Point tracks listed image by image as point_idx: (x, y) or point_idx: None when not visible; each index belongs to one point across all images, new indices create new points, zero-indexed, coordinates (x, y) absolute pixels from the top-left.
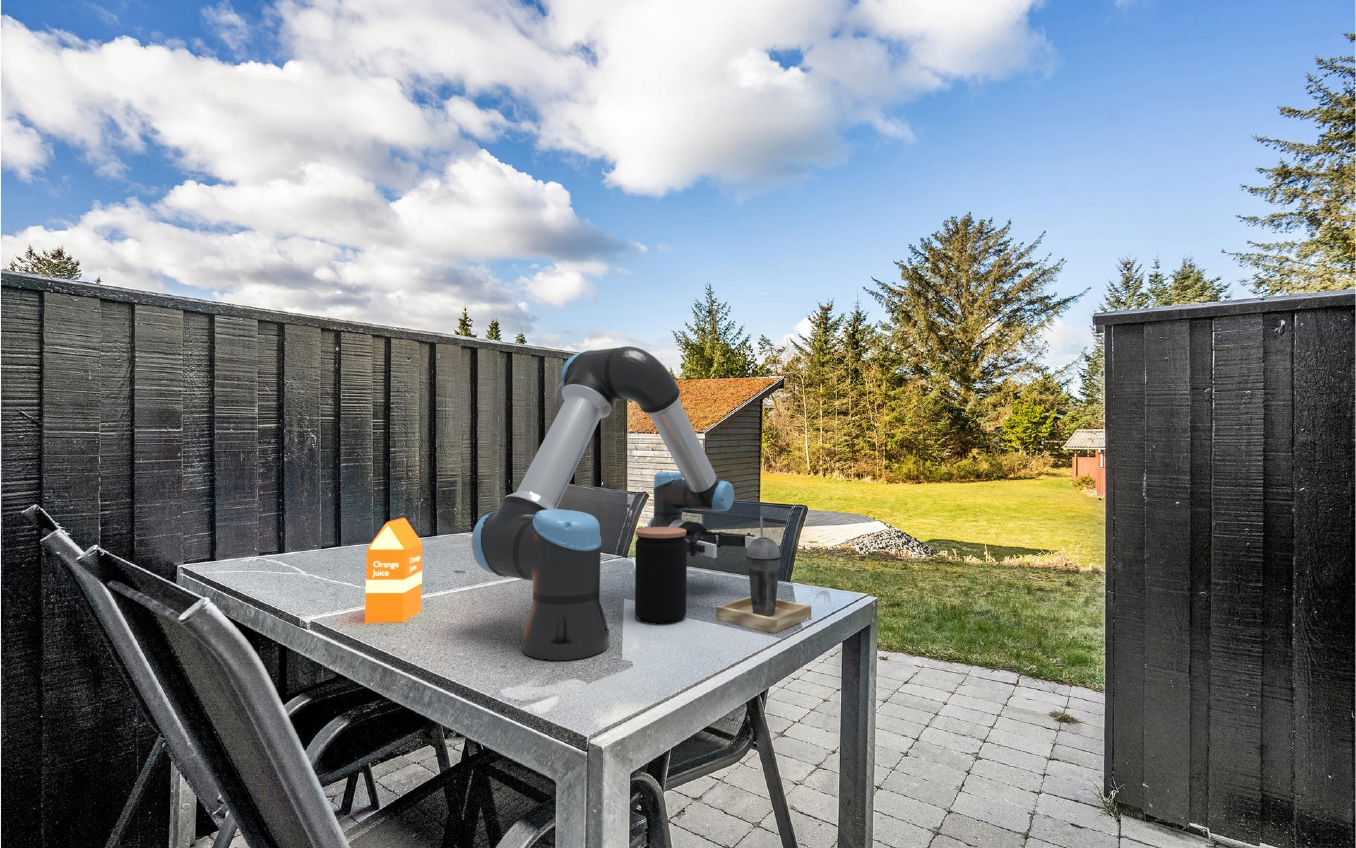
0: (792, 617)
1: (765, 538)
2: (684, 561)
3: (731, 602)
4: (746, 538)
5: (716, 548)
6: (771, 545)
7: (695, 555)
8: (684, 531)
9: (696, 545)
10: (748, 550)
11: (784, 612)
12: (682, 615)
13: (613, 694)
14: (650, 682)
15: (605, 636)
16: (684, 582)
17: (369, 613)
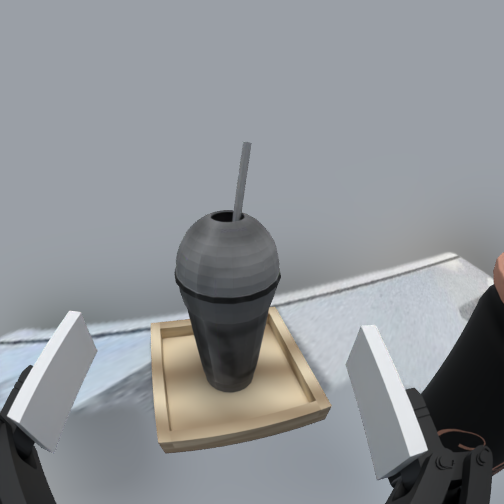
0: None
1: (206, 223)
2: (458, 339)
3: (275, 420)
4: (29, 419)
5: (357, 337)
6: (231, 218)
7: (393, 481)
8: (498, 258)
9: (429, 416)
10: (275, 260)
11: (187, 359)
12: None
13: (461, 279)
14: (441, 283)
15: None
16: (431, 380)
17: None
